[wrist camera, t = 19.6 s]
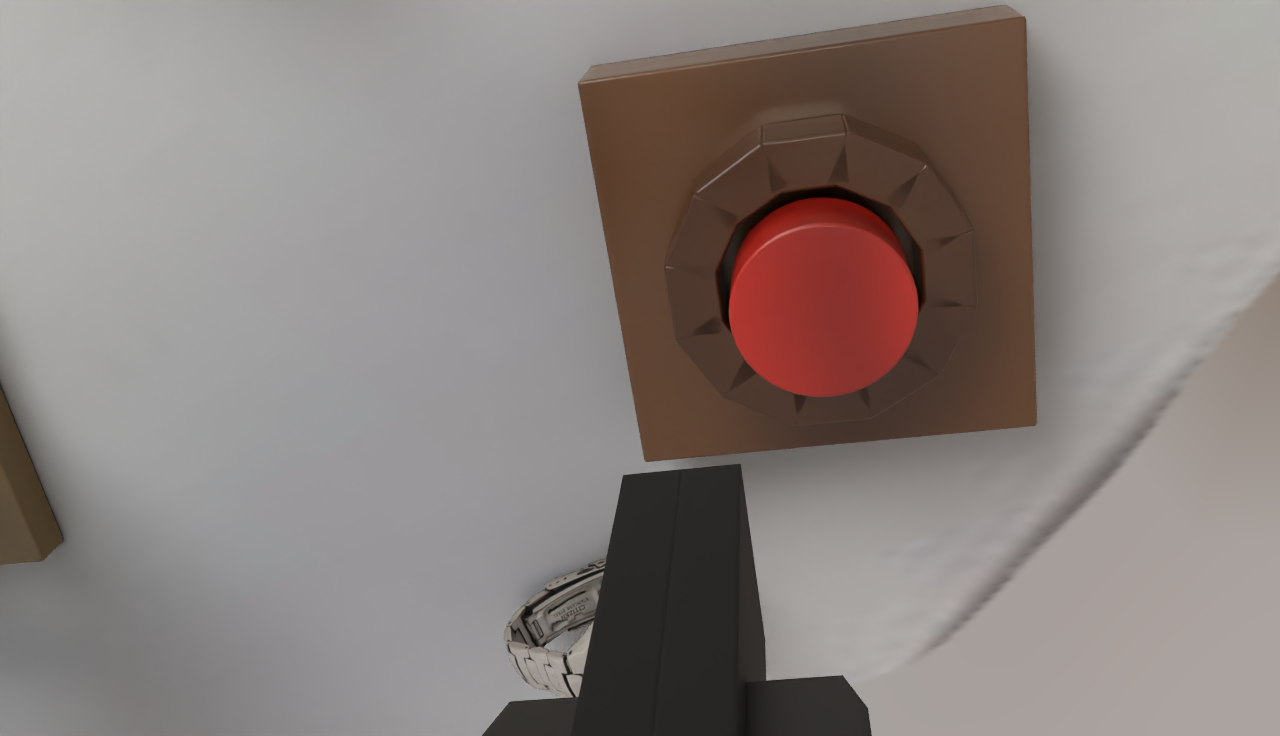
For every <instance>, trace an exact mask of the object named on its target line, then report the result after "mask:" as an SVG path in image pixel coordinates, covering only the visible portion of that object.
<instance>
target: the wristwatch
mask: <svg viewBox="0 0 1280 736" xmlns="http://www.w3.org/2000/svg"><path fill="white" fill-rule="evenodd" d="M605 563H606V559H602V560H599V561H596V562H593V563H591V564H589V565H588V567H586V568H583V569H581V570H578V571H575V572H572V573H569V574H567V575H564V576H562V577H560V578H557V577H556V578H555V579H553V580H552V581H550V582H548V583H546V584H544V585H545V590H543V591H541V592H539V593H538V594H536V595H535V596H533V597H532V598H531V599H530V600H528V601H527V602H526V603H525V604H524V605H523V606H522V607H521V608H520V609H519V610H518V611H517V612H516V613H515V614H514V615H513V616H512V618H511V619H510V620H509V621H508V623H507V625H506V626H507V627H506V628H505V631H504V640H505V643H506V646H507V649H508V655H509V659H510V661H511V663H512V666H513V667H514V669H515V670H516V671H517V673H518V674H519V675H521V676H522V678H523V679H524V680H525V681H526V682H527V683H528V684H530V685H532V686H533V687H535V688H538V689H543V690H551V691H552V692H553V693H555V694H557V695H559V696H561V697H564V698H570V697H579V692H580V687H581V682H582V677H583V672H584V667H585V662H586V657H587V652H588V647H589V642H590V638H591V633H592V628H593V623H594V618H595V613H596V608H597V603H598V598H599V593H600V588H601V583H602V578H603V573H604V568H605ZM590 623H592V624H591V625H590V627H589V628H588V629H587V631H586V632H585V633H584V635H583V636H582V637H581V638H580V639H579V640H578V641H577V642H576V643H575V644H574V645H573V646H572V647H571V648H570V649H569V650H568V653H562V652H558V651H549V650H548V649H546V648H544V646H545V645H546V644H547V643H549V642H550V641H552V640H553V639H554V638H556V637H557V636H559V635H560V634H562V633H563V632H565V631H566V630H568V631H571V630H575V629H577V628H580V627H582V626H585V625H587V624H590Z"/></svg>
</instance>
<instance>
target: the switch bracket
mask: <svg viewBox="0 0 1280 736" xmlns="http://www.w3.org/2000/svg"><path fill="white" fill-rule="evenodd" d="M62 542H63V537H62V535H61V532H60V530H59V528H58V525H57V523H56V520H55V518H54V515H53V513H52V511H51V508H50V506H49V503H48V501H47V498H46V496H45V494H44V491H43V489H42V486H41V484H40V481H39V479H38V477H37V474H36V472H35V469H34V467H33V464H32V462H31V460H30V457H29V455H28V452H27V450H26V448H25V445H24V443H23V440H22V438H21V435H20V433H19V431H18V428H17V426H16V423H15V421H14V418H13V416H12V414H11V411H10V409H9V406H8V404H7V401H6V399H5V397H4V394H3V392H2V389H1V387H0V565H4V564H15V563H27V562H39V561H43V560H44V559H45V558H46V557H47V556H48V555H49V554H50V553H51V552H52V551H53V550H54V549H56V548H57V547H58V546H59V545H60V544H61V543H62Z"/></svg>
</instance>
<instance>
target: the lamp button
mask: <svg viewBox="0 0 1280 736" xmlns="http://www.w3.org/2000/svg"><path fill="white" fill-rule="evenodd" d="M917 319H918V295H917V289H916V286H915V282H914V279H913V276H912V273H911V270H910V267H909V264H908V261H907V258H906V255H905V252H904V250H903V248H902V245H901V243H900V241H899V239H898V238H897V236H896V235H895V233H894V232H893V230H892V229H891V228H890V227H889V226H888V225H887V223H886V222H884V221H883V220H882V219H881V218H880V217H879V216H878V215H876V214H875V213H873V212H872V211H870V210H869V209H867V208H865V207H863V206H861V205H859V204H856V203H853V202H850V201H847V200H843V199H838V198H828V197H817V198H807V199H802V200H798V201H794V202H791V203H788V204H786V205H784V206H782V207H780V208H777V209H776V210H774V211H772V212H771V213H769V214H768V215H766V216H765V217H764V218H763V219H761V220H760V221H759V222H758V223H757V224H756V225H755V226H754V227H753V228H752V229H751V230H750V232H749V233H748V234H747V236H746V237H745V239H744V240H743V242H742V244H741V246H740V248H739V250H738V252H737V255H736V258H735V260H734V265H733V270H732V278H731V290H730V301H729V322H730V327H731V332H732V335H733V338H734V341H735V344H736V346H737V348H738V350H739V351H740V353H741V355H742V356H743V358H744V359H745V361H746V362H747V363H748V364H749V365H750V367H751V368H752V369H753V370H754V371H755V372H756V373H758V374H759V375H760V376H761V377H762V378H764V379H765V380H767V381H768V382H770V383H771V384H773V385H775V386H777V387H779V388H781V389H783V390H786V391H789V392H792V393H795V394H799V395H804V396H812V397H832V396H839V395H844V394H848V393H851V392H855V391H857V390H860V389H862V388H865V387H867V386H868V385H870V384H872V383H874V382H876V381H877V380H878V379H880V378H881V377H883V376H884V375H885V374H887V373H888V372H889V371H890V370H891V369H892V368H893V367H894V366H895V365H896V364H897V362H898V361H899V360H900V359H901V358H902V356H903V355H904V353H905V352H906V350H907V348H908V347H909V345H910V342H911V340H912V338H913V336H914V332H915V329H916V325H917Z"/></svg>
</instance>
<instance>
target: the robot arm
mask: <svg viewBox="0 0 1280 736" xmlns="http://www.w3.org/2000/svg"><path fill="white" fill-rule="evenodd" d="M482 736H872V735H871V728H870V720H869V713H868V708H867V707H866V705H865V704H864V703H863V702H862V700H861V699H860V697H859V696H858V695H857V694H856V692H855V691H854V690H853V688H852V687H851V686H850V684H849V683H848V682H847V681H846V679H845V678H844V677H843V675H842V676H827V677H813V678H798V679H784V680H770V681H766V659H765V636H764V629H763V622H762V615H761V608H760V600H759V593H758V586H757V579H756V572H755V564H754V557H753V550H752V543H751V536H750V528H749V521H748V514H747V507H746V500H745V492H744V485H743V478H742V471H741V464H734V465H724V466H713V467H703V468H693V469H682V470H672V471H661V472H651V473H641V474H630V475H623V479H622V484H621V489H620V494H619V499H618V504H617V509H616V514H615V519H614V524H613V529H612V534H611V539H610V544H609V549H608V554H607V558H606V563H605V568H604V573H603V578H602V583H601V588H600V593H599V598H598V603H597V608H596V613H595V618H594V623H593V628H592V633H591V638H590V642H589V647H588V652H587V657H586V662H585V667H584V672H583V677H582V682H581V687H580V692H579V697H570V698H556V699H542V700H527V701H513V702H509V703H508V705H507V706H506V707H505V708H504V709H503V711H502V712H501V713H500V714H499V716H498V717H497V718H496V719H495V720H494V722H493V723H492V724H491V725H490V726H489V728H488V729H487V730H486V731H485V732H484V734H483V735H482Z"/></svg>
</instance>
